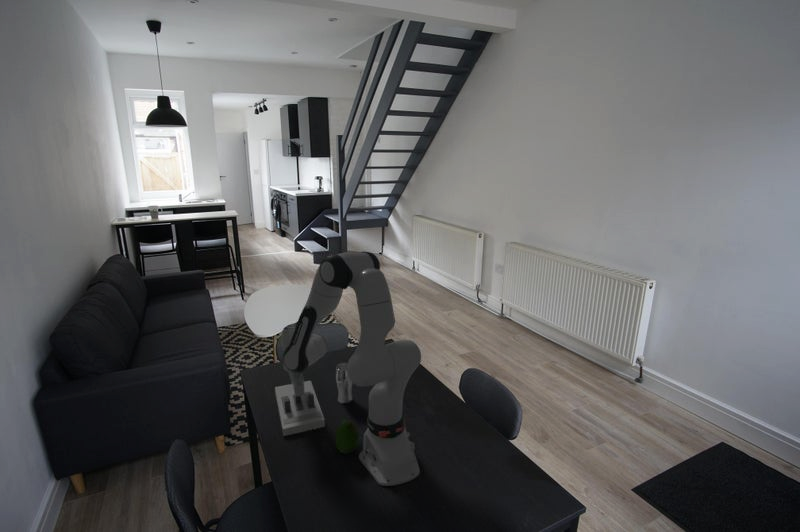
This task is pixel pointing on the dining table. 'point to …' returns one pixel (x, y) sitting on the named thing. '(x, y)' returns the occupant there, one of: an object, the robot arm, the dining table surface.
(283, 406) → the breaker panel
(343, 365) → the beer glass
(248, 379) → the dining table surface
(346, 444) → the avocado
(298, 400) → the breaker handle
